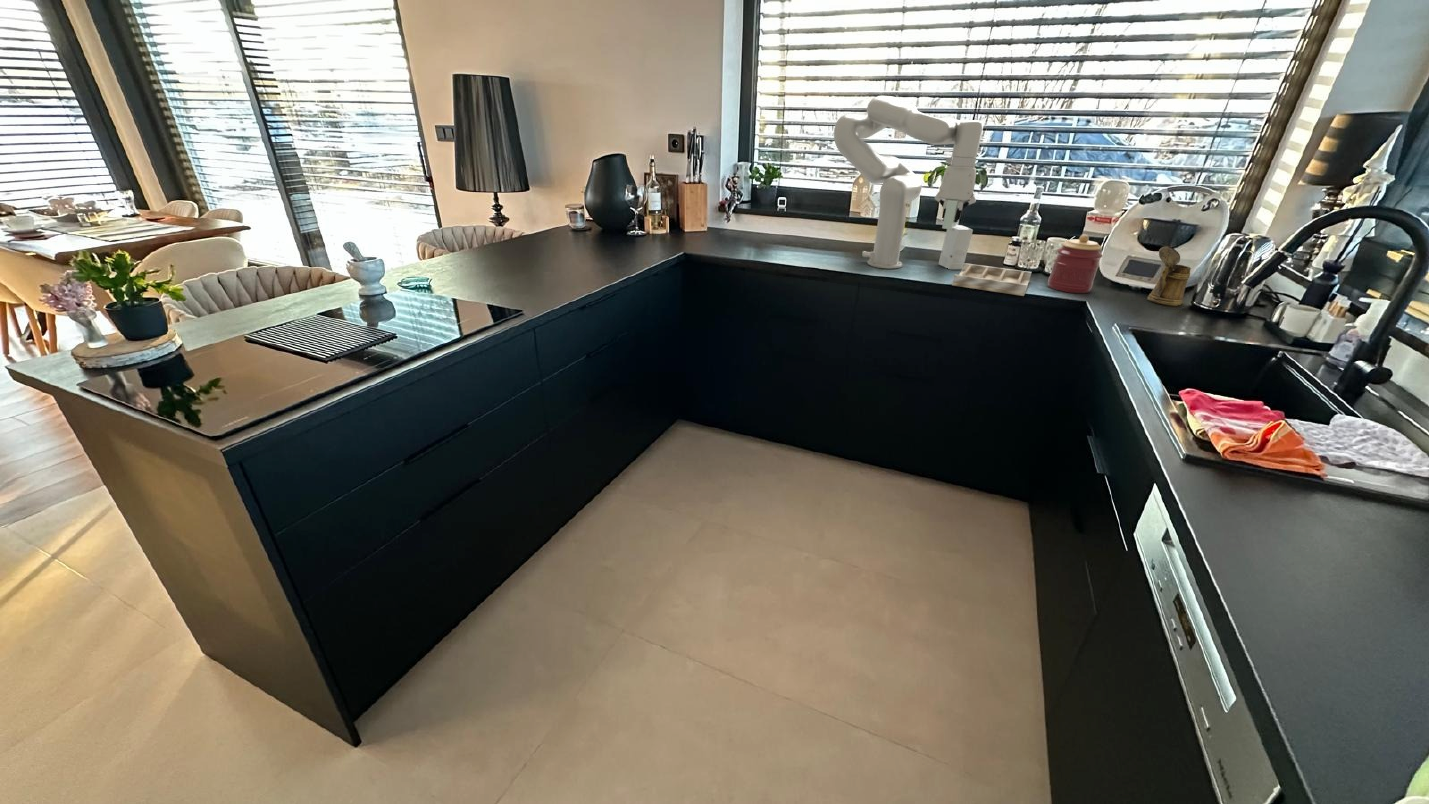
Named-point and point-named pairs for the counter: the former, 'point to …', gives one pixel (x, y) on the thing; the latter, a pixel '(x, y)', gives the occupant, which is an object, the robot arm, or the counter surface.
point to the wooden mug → (1170, 279)
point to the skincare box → (955, 247)
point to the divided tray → (992, 279)
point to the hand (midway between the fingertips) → (950, 220)
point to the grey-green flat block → (950, 214)
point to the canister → (1075, 265)
